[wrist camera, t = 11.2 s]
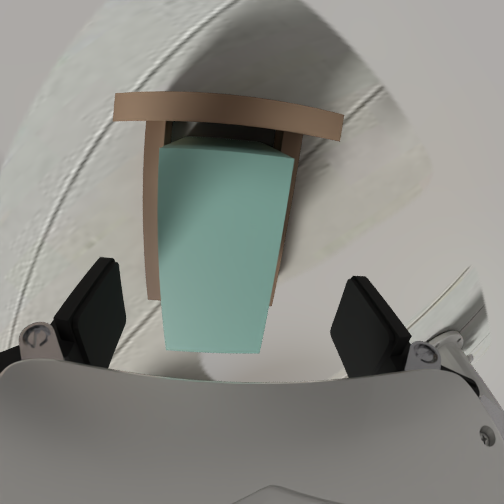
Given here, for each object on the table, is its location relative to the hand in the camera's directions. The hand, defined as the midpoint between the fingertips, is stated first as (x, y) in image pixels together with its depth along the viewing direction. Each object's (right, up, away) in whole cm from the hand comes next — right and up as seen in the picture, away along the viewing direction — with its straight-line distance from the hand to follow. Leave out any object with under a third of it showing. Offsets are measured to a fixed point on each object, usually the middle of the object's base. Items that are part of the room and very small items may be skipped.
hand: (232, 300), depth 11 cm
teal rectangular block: (-2, +5, +9) cm, 10 cm away
